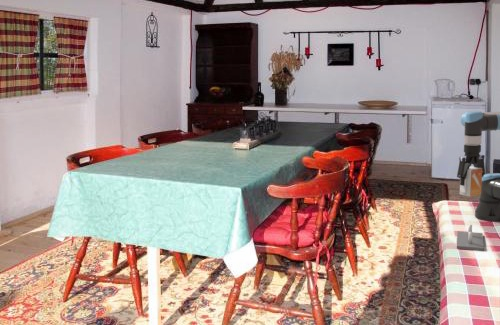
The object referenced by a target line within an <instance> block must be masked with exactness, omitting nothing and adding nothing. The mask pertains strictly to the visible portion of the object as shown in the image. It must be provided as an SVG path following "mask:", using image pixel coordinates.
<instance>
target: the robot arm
mask: <svg viewBox="0 0 500 325" xmlns="http://www.w3.org/2000/svg"><path fill="white" fill-rule="evenodd" d="M460 123H461V125H462V126H463V127H464V137H463V138H464V139H463V140H464V142H463V143H464V144H463V152H464V156H459V158H458V159H459V164H458V167H457V168H458V169H457V173H456V178H458V179H460V180H459V186H460V185H461V192H464V193H466V185H467V179H465V178H466V175H467V170H468V169H469V167H471V166H473V167H476V168H482V186H481V195H478V203H477V206H476V209H475V211H474V217H475V218H476V219H479V220H483V221H489V222H500V173H498V172H496V173H495V172H494V173H486V166H485V165H486V164H485V155H484V154H481V152H482V145H481V144H482V138H483V136H482V134H483V132H487V131H499V130H500V111H487V112H485V111H484V112H483V111H478V110H477V111H476V110H474V111H473V110H470V111H466V112H464V113H462V115H461V118H460Z"/></svg>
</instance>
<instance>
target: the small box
mask: <svg viewBox="0 0 500 325" xmlns="http://www.w3.org/2000/svg"><path fill="white" fill-rule="evenodd" d="M465 179H467V185H466V193H464V192H461V185H460V184H459V195H461V196H464V197H465V196H466V197H474V196H479V195H481V186H482V168H476V167H474V165H471V166H470V167H469V169H468V170H467V175H466V178H465Z"/></svg>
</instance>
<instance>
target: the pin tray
mask: <svg viewBox="0 0 500 325" xmlns="http://www.w3.org/2000/svg"><path fill="white" fill-rule="evenodd" d="M467 229H468V230H467V231H460V230H459V231H457V232H456V249H457V250H458V249H460V250H470V251H483V252H484V251H485V247H484V246H485V245H484V238H483V237H484V236H483V235H484V234H483V233H482V232H473V225H472V224H468V225H467Z"/></svg>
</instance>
